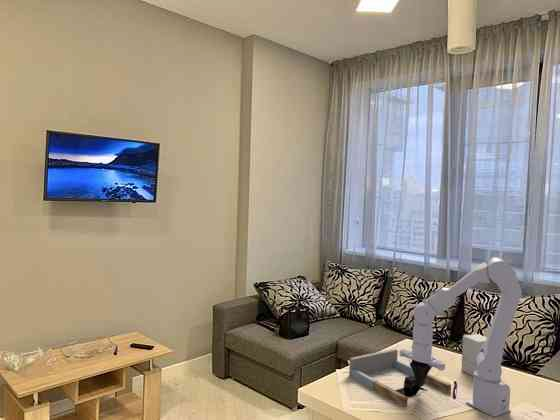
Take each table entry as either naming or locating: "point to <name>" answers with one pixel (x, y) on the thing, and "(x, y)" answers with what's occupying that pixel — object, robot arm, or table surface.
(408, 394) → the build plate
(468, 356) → the supplement box
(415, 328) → the robot arm
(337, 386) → the table surface
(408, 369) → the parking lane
